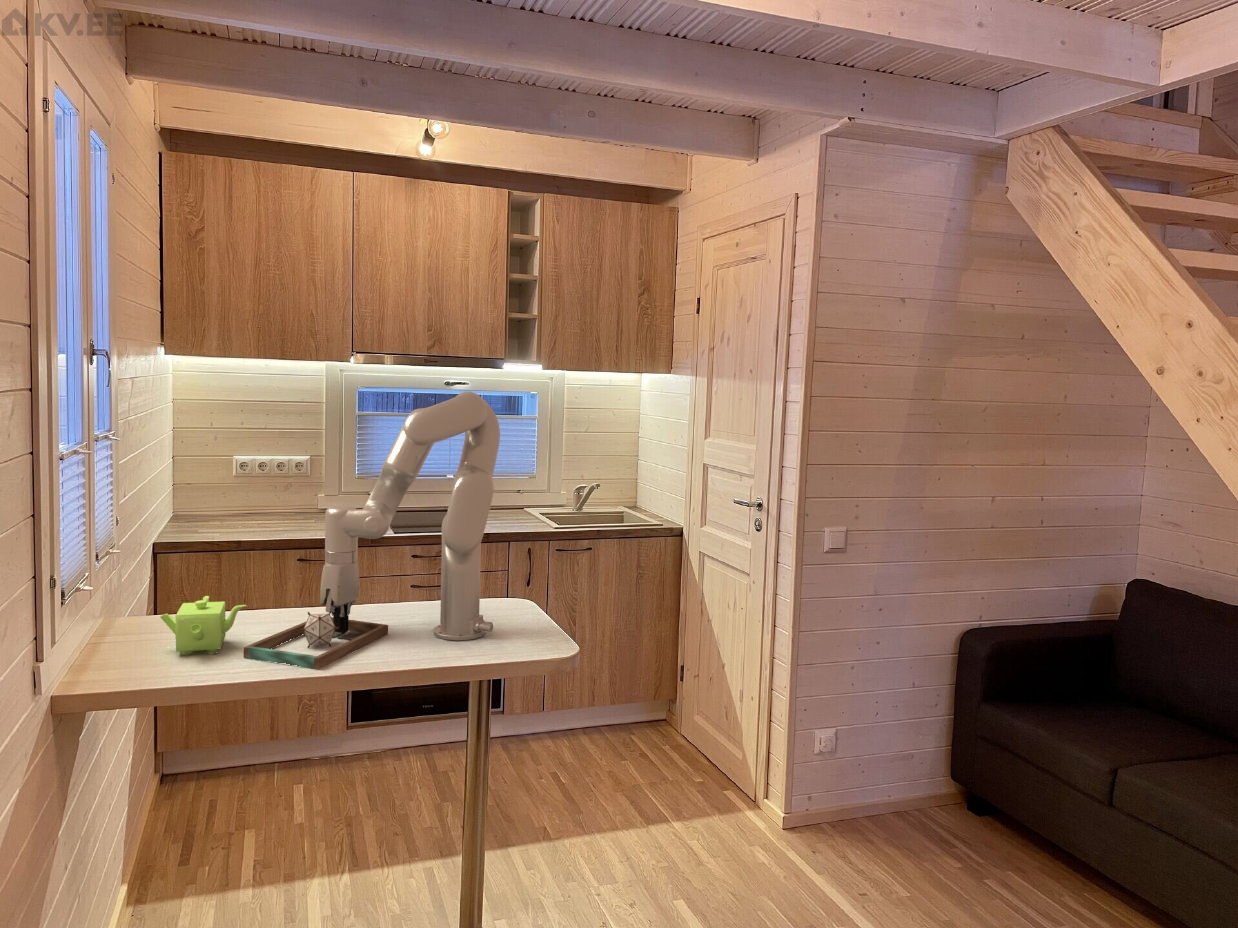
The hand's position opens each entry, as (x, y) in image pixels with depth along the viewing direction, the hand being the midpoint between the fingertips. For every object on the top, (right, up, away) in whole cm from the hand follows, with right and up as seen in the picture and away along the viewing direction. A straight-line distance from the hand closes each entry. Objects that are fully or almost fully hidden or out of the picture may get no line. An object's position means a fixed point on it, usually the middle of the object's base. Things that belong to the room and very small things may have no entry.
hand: (340, 631), depth 221 cm
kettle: (-27, -2, -13) cm, 30 cm away
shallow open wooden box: (-3, -2, -8) cm, 9 cm away
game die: (-3, -2, -8) cm, 9 cm away
